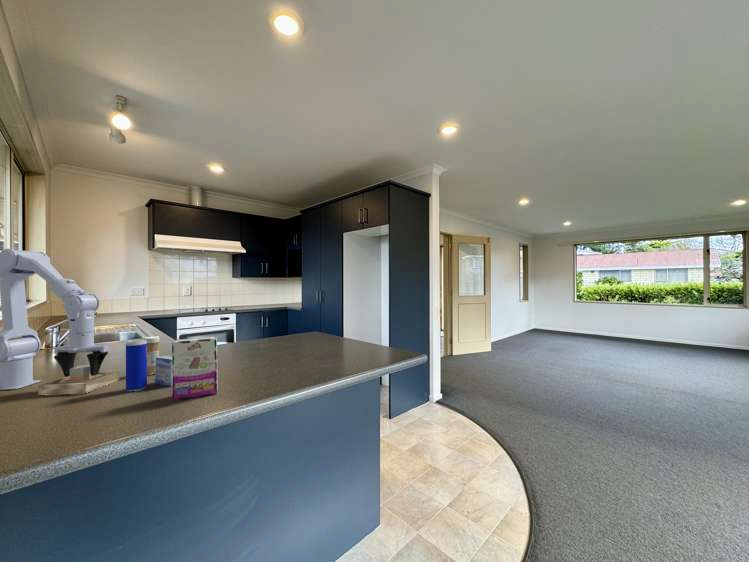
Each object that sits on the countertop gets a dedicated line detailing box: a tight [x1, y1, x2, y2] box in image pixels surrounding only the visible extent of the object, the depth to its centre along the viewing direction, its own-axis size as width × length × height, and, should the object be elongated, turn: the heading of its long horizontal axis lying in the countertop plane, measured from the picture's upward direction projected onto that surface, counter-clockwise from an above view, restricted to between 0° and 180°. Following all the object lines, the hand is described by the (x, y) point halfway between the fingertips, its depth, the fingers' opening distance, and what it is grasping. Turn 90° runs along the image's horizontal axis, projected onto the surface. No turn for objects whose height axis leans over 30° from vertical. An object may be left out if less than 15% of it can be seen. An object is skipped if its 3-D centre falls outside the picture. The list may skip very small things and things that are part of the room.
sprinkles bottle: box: [143, 335, 160, 376], centre depth 110 cm, size 5×5×13 cm
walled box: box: [37, 370, 120, 397], centre depth 96 cm, size 13×13×3 cm
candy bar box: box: [171, 335, 219, 401], centre depth 89 cm, size 11×5×16 cm, turn 115°
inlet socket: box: [59, 375, 103, 384], centre depth 96 cm, size 7×7×2 cm
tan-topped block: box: [70, 364, 94, 381], centre depth 96 cm, size 4×4×6 cm
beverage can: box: [125, 339, 148, 393], centre depth 94 cm, size 5×5×15 cm
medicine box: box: [154, 354, 173, 387], centre depth 99 cm, size 8×4×9 cm, turn 68°
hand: (81, 375), depth 96 cm, fingers open, 7 cm apart
